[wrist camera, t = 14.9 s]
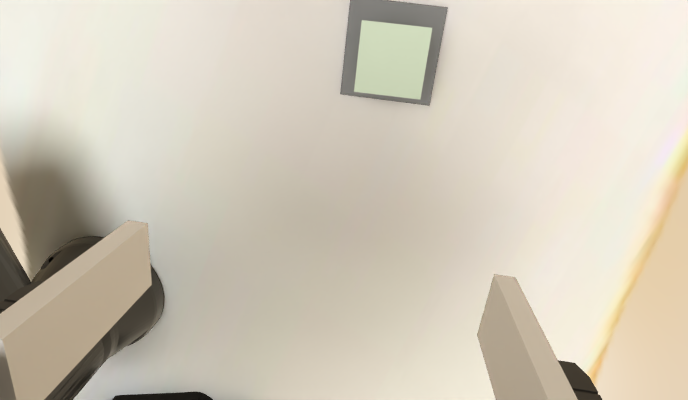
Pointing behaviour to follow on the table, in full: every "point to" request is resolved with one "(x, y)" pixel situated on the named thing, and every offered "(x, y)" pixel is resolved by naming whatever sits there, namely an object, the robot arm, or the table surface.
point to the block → (392, 59)
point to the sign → (165, 396)
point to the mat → (375, 6)
